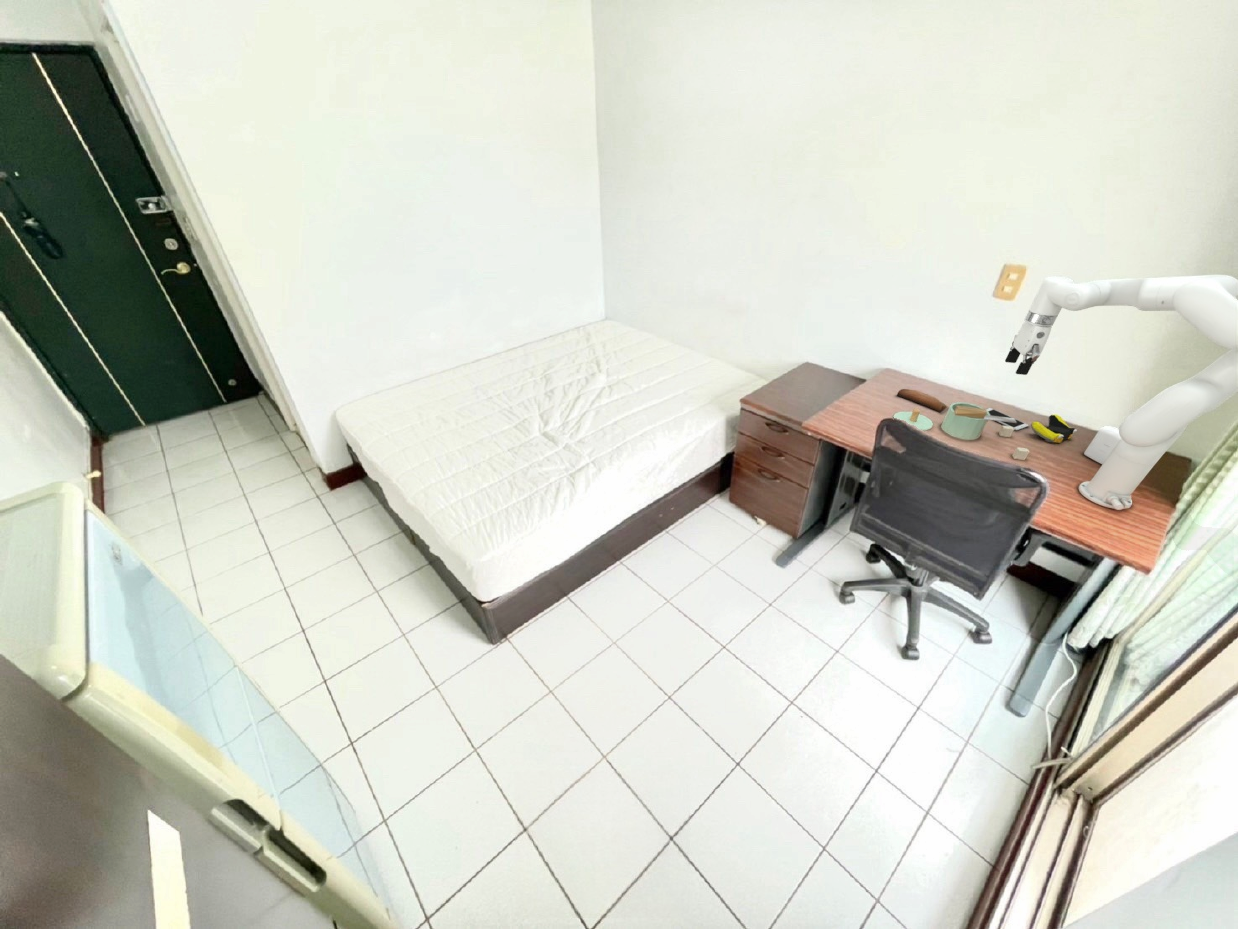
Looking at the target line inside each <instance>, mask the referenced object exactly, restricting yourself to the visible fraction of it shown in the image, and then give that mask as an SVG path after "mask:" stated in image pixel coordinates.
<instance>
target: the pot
mask: <svg viewBox="0 0 1238 929" xmlns="http://www.w3.org/2000/svg"><path fill="white" fill-rule="evenodd" d="M956 406H964V407H972V408H981V409H985V408H984V407H982V406H979V405H978V404H973V403H969V402H962V401H961V402H960V401H959V402H953V403H951V404H950V405H949V407H948V410H947V411H946V414H945V416H944V419H943V420H942V423H941V425H940V428H941V430H942V431H943V432H944V433H946V434H948V435H949V436H952V437H953V438H957V439H960V440H968V441H970V440H977V439H979V438H980V437H981V435H982V433H983V431H984V429H985V427H986V425H987V423H988V421H989V420H987V419H982V418H974V417H965V416H957V415H955V414H954V411H955V409H956ZM985 410H986V409H985ZM986 411H987V410H986ZM986 415H990V413H989V412H988V411H987V413H986Z"/></svg>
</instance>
